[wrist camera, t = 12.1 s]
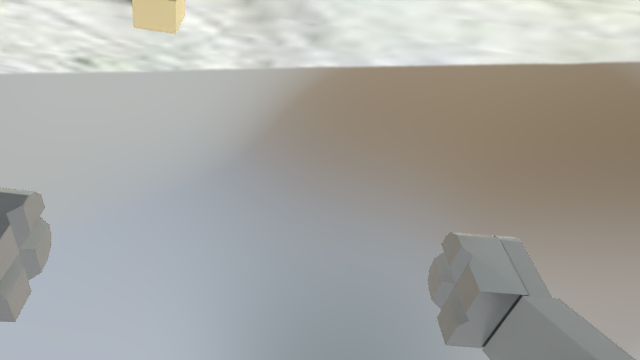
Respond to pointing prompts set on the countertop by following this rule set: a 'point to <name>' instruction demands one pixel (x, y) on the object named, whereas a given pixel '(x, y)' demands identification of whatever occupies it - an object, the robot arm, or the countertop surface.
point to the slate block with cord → (158, 14)
